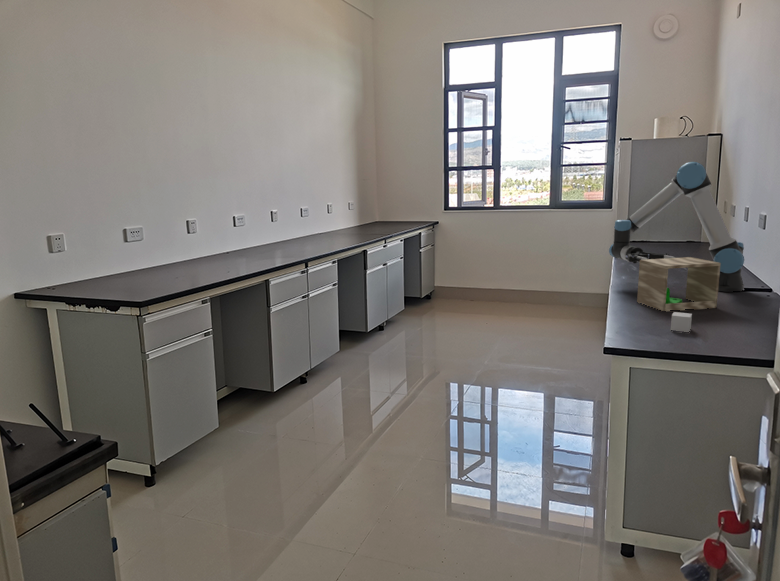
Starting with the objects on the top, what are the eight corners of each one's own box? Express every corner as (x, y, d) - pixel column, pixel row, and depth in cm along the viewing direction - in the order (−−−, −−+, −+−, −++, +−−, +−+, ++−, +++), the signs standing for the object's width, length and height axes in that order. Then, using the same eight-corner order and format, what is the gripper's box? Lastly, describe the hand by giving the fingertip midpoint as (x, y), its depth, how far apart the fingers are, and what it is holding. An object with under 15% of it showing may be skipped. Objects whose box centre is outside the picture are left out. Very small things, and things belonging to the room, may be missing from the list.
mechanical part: (673, 308, 241) (675, 290, 239) (659, 306, 245) (660, 288, 243) (684, 303, 249) (685, 285, 247) (669, 301, 253) (671, 284, 251)
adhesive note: (689, 333, 203) (690, 317, 202) (670, 331, 206) (671, 315, 205) (690, 329, 208) (692, 313, 207) (672, 327, 211) (673, 311, 210)
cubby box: (687, 299, 256) (690, 257, 252) (716, 307, 239) (720, 262, 235) (637, 302, 252) (639, 259, 248) (662, 311, 235) (666, 265, 231)
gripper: (655, 260, 277) (684, 267, 257) (608, 262, 273) (634, 270, 252) (656, 245, 275) (685, 251, 255) (609, 247, 271) (635, 253, 251)
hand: (660, 260), depth 254 cm, fingers open, 13 cm apart
